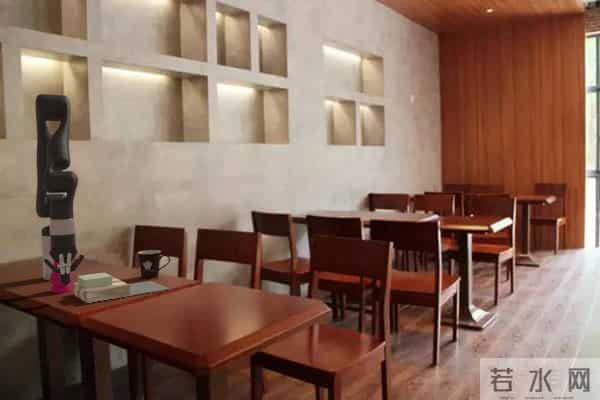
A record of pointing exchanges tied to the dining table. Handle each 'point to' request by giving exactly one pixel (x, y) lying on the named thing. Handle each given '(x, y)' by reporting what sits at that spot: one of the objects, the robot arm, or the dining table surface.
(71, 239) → the robot arm
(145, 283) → the slate mat
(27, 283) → the dining table surface
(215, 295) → the dining table surface
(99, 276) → the green tile
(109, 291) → the block
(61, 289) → the pepper mill
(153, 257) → the coffee mug
